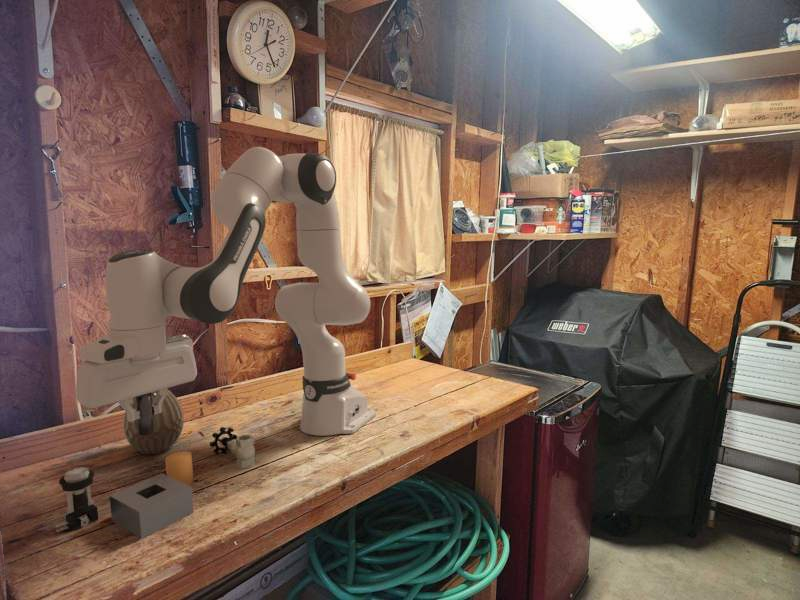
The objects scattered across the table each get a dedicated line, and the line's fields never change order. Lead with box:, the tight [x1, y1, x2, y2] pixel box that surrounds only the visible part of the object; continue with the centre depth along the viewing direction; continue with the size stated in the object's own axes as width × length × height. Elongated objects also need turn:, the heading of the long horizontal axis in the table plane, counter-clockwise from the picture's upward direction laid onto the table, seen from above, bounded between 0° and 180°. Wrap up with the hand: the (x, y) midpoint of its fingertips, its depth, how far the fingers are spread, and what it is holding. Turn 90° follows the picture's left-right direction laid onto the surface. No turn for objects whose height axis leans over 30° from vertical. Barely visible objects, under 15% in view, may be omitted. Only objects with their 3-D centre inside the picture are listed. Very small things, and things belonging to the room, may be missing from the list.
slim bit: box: [135, 393, 154, 435], centre depth 90 cm, size 3×3×8 cm
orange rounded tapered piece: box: [164, 451, 194, 486], centre depth 104 cm, size 5×5×6 cm
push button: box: [55, 466, 99, 533], centre depth 89 cm, size 7×5×10 cm
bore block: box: [109, 472, 194, 540], centre depth 92 cm, size 10×10×5 cm
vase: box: [122, 388, 185, 455], centre depth 121 cm, size 13×13×18 cm
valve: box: [209, 426, 256, 470], centre depth 115 cm, size 7×7×12 cm
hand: (144, 417), depth 90 cm, fingers closed on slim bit, 3 cm apart
